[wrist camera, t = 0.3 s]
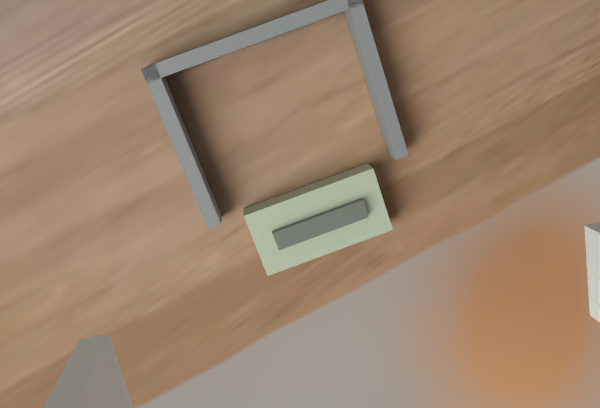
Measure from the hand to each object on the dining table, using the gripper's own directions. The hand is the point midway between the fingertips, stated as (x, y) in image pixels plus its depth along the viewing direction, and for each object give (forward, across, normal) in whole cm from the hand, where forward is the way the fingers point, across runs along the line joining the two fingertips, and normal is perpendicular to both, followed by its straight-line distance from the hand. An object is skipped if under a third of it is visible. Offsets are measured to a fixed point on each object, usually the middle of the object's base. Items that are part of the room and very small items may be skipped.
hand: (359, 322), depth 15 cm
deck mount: (+28, 0, +2) cm, 28 cm away
